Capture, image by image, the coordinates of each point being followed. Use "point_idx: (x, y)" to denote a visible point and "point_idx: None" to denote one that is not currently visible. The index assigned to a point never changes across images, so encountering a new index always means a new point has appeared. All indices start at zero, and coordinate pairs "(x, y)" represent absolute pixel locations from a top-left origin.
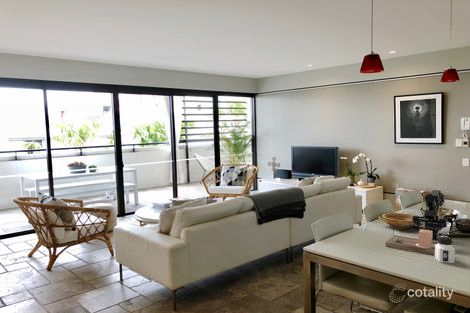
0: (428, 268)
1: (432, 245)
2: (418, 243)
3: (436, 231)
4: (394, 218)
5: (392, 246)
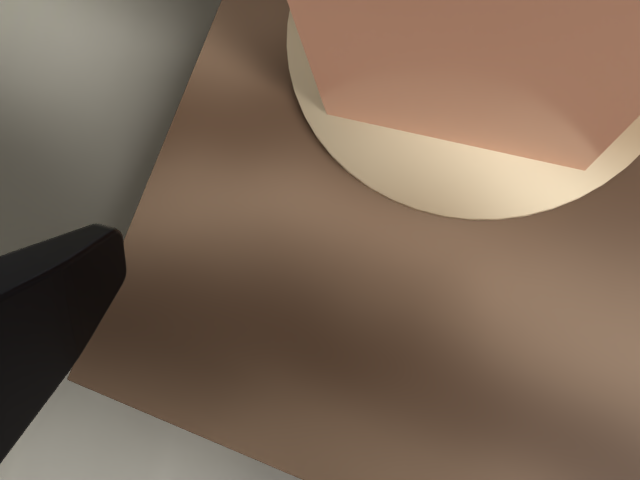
0: None
1: None
2: None
3: (49, 262)
4: None
5: None
